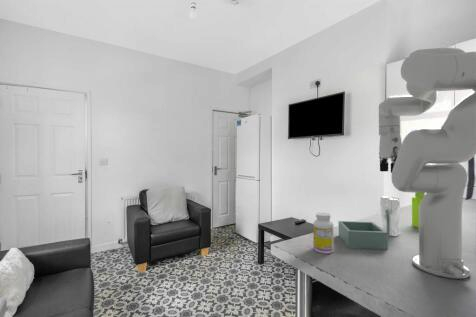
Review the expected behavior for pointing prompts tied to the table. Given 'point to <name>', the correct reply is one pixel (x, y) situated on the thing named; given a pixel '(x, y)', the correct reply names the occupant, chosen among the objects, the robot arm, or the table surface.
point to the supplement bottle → (323, 234)
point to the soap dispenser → (416, 208)
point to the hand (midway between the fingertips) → (389, 172)
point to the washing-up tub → (363, 235)
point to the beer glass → (390, 215)
